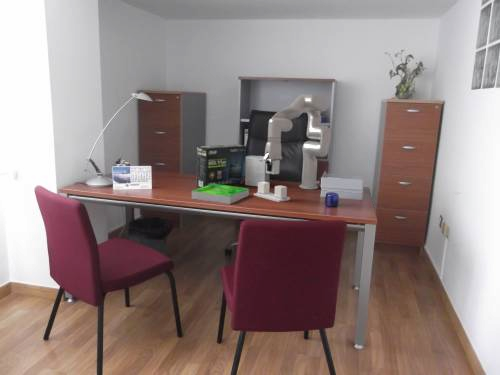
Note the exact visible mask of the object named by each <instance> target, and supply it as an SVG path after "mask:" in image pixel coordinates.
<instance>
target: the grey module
mask: <svg viewBox="0 0 500 375" xmlns="http://www.w3.org/2000/svg"><path fill="white" fill-rule="evenodd" d="M269 162H270V160H269ZM280 162H281V161H280V160H272V162H271V165H272V169H271V172H270V171H267V164H266V173H269V175H270V174H271V175H279V174H280V164H281V163H280Z"/></svg>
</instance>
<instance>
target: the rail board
mask: <svg viewBox="0 0 500 375" xmlns="http://www.w3.org/2000/svg"><path fill="white" fill-rule="evenodd" d="M270 187H271V186H270V182H269V183H268V182H258V186H257V192H256V193H253V197H258V198H263V199H265V200H269V201H273V202H278V203H281V202H285V201H291V197H289V196H287V194H288V193H287V192H288V190H287V189H288V187H287V186H285V185H275V186H274V193H273V192H270Z"/></svg>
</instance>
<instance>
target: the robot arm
mask: <svg viewBox="0 0 500 375" xmlns="http://www.w3.org/2000/svg"><path fill="white" fill-rule="evenodd" d="M329 104H330V103H329V101H328V99H327V98H326V97H324V96H321V95H318V94H312V93H301V94H300V95H298V96H297V97H296V99H295V100H294V101H293V102H292V103H291V104H290V105H289V106H288V107H285V108H283V109H281V110H279V111H277V112H275V114H274V115H273V116H272V117H271V118H270V119H269V120H268V127H267V142H266V143H265V149H264V156H263V157H264V160H265V162H266V164H267V171H270V172H271V169H272V165H271V162H272V160H280V162H281V161H282V159H283V156H282V142H281V141H282V138H281V137H282V132H289V131H291V130H292V129H293V125H294V124H293V122H292V120H293V119H296V118H299V117H300V116H301V115H302V114H303V112H304V111H305V112H306V114H307V117H308V118H307V128H306V137H307V138H308V139H309V140H307V141H305V142H303V144H302V148H301V149H302V172H301V184H300V185H299V186H298V188H301V189H303V190H317V189H318V188H319V187H318V185H319V184H320V183H321V182H320V180H317V170H318V160H317V157H320V158H324V157H327V155H328V153H329V150H330V142H331V129H330V127H329V126H327V125H322V124H321V123H322V116H321V114H320V112H326V111H327V110H328V108H329ZM311 140H312V141H311ZM313 140H314V141H313ZM316 140H318V141H316ZM269 160H270V162H269Z"/></svg>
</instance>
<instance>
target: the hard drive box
mask: <svg viewBox="0 0 500 375" xmlns="http://www.w3.org/2000/svg"><path fill="white" fill-rule="evenodd" d="M264 157H265V156H264V155H263V156H262V155H246V156H245V183H244V185H245V186H251V187H258V182H268V183H270V174H269V173H266V162H265V160H264Z"/></svg>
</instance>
